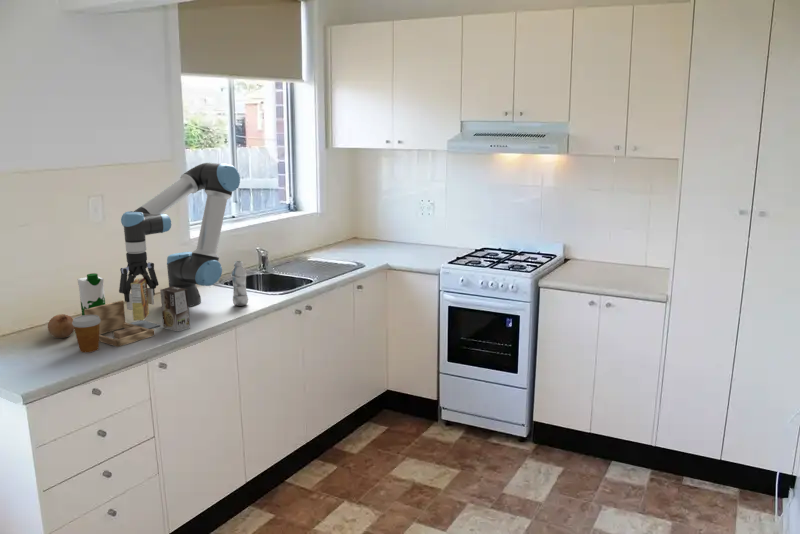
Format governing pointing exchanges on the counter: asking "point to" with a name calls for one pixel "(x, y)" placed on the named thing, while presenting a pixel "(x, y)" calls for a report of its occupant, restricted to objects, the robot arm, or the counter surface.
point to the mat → (146, 324)
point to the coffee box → (175, 308)
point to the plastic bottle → (239, 284)
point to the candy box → (139, 299)
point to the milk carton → (91, 291)
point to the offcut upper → (127, 332)
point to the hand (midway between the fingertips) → (140, 306)
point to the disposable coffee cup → (87, 332)
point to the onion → (61, 326)
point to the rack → (116, 323)
